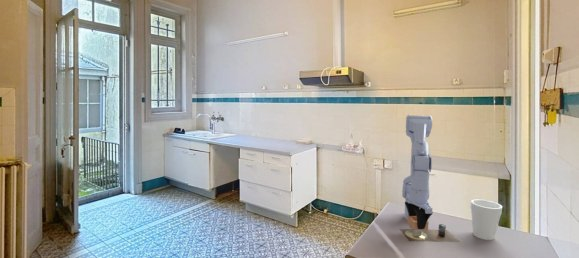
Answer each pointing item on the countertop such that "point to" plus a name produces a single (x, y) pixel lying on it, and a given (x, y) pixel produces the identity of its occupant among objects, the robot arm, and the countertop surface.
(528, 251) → the countertop surface
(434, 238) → the jig board
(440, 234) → the stand rod
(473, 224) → the foam cup
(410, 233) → the hub
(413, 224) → the collar
